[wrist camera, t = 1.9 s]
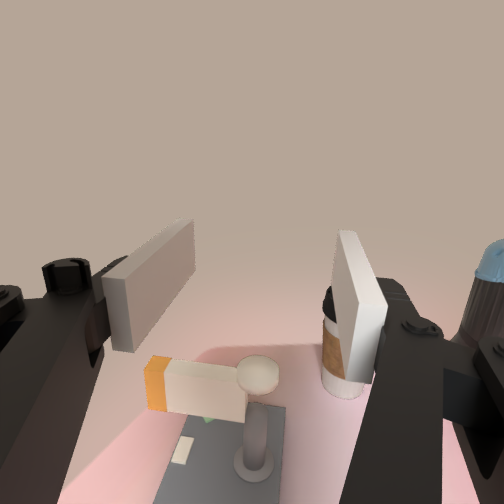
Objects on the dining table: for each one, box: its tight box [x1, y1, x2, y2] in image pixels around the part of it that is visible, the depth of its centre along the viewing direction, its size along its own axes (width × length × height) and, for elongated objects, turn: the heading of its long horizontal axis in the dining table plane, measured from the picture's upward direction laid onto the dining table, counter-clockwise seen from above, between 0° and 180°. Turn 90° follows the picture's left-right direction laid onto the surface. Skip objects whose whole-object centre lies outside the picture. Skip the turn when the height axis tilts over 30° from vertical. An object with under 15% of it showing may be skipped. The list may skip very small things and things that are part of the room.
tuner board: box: [153, 402, 286, 504], centre depth 37 cm, size 12×18×2 cm
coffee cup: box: [322, 286, 365, 399], centre depth 46 cm, size 8×8×15 cm
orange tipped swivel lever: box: [144, 355, 279, 471], centre depth 34 cm, size 13×4×12 cm, turn 81°
